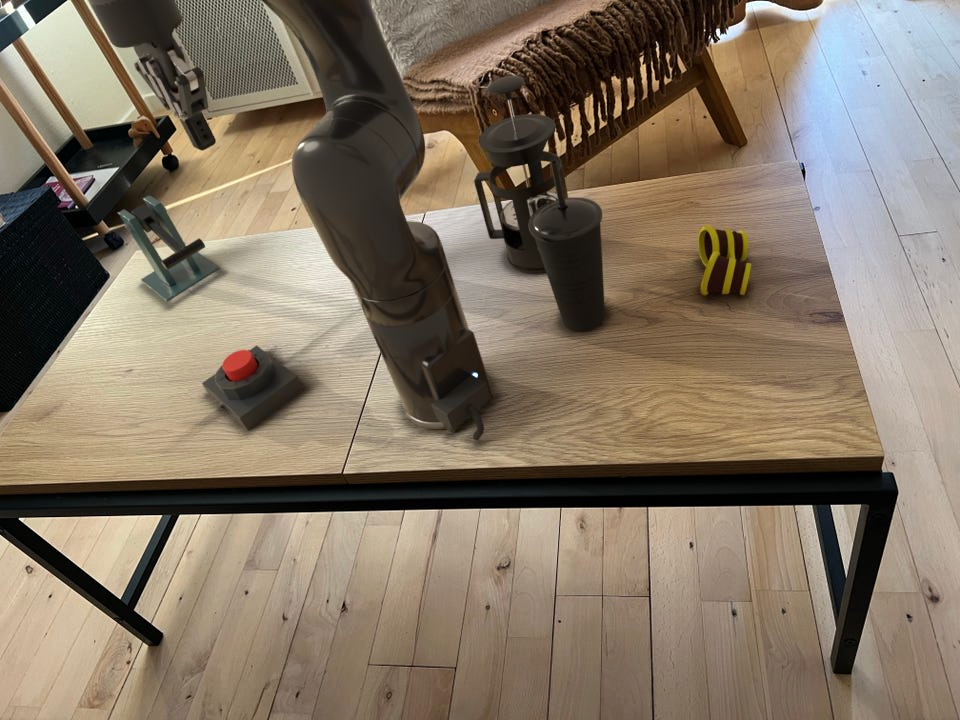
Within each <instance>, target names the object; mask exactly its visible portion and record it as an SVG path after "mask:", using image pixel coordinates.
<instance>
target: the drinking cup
mask: <svg viewBox="0 0 960 720" xmlns="http://www.w3.org/2000/svg"><path fill="white" fill-rule="evenodd" d="M550 167H551V172H552V176H553V177H554V182H555V187H554V189H555V193H557V198H558V200H555V201H552V202H550V203H548V204H545V205H544V206H542V207H540V208H539V209H538V210H536V211H535V212H534V213H533V214H532V216H531V217H530V220H529V224H528V226H529V230H530V233H531V234H532V235H533V236H534V238H535V240H536V243H537V246H538V250H539V252H540V255H541V258H542V261H543V264H544V267H545V270H546V272H545V273H546V276H547V279H548V281H549V285H550V288H551V291H552V294H553V297H554V299H555V303H556V305H557V306H556V307H557V308H558V311H559V314H560V317H561V320H562V323H563V325H564V326H565V328H566V329H568V330H570V331H572V332H578V333H583V332H589V331H592V330H594V329H597V328H598V327H599V326H601V324H602V323H603V322H604V321H605V318H606V307H605V288H604V268H603V265H604V264H603V250H602V249H603V248H602V247H603V246H602V229H601V228H602V227H601V223H602V220H603V210H602V208H601V206H600V204H598V203H597V202H596V201H594V200H592V199H589V198H586V197H579V196H578V197H575V196H574V197H573V196H572V197H568V198H564V193H563V188H562V183H561V177H560V172H559V166H558V162H557V161H552V162H550Z"/></svg>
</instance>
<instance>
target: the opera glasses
mask: <svg viewBox="0 0 960 720" xmlns="http://www.w3.org/2000/svg"><path fill="white" fill-rule="evenodd" d="M697 237H698V238H697V246H698V247H697V248H698V254H699V258H700V261H701V262H702V264H703V265H704V267H705V270H704V272H703V275H702V279H701V282H700V294H701V295H702V296H708V295H709V293H721V295H729V294H730V293H732V294H736V293H739V294H740V296H745V294H746V291H747V287H748V283H749V279H750V273H751V269H752V263H750V262H746V264H745V263H743V262H745V261H746V260H747V258H748V254H749V236H748V233H747V231H745V230H739V231H736V230H733V231H732V230H731V229H728V228H722V229H718V228H715V227H714V226H712V225H710V224H706V225H704V226H702V228H701V229H700V230H699V232H698V236H697Z"/></svg>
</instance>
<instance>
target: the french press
mask: <svg viewBox="0 0 960 720" xmlns="http://www.w3.org/2000/svg"><path fill="white" fill-rule="evenodd" d="M524 84H525V79H524V77H522V76H519V75H507V76H502V77H500V78H498V79H494V81H492V82H490V83H489V84H488V86H487V89H486V91H487V92H488V93H489V94H492V95H503V98H504V100H505V101H507V103H508V108H509V113H510V117H507V118H504V119H501V120H499V121H497V122H494V123H492V124H491V125H490V126H488V127H487V128H486V129H484V131H482V133H481V134H480V136H479V138H478V144H479V147H480V149H481V150H483V152H485V157H486V160H487V161H488V162H489V163H490V164H491V165H493V166H492V168H491V169H490V171H480V172H477V173H476V176H475V178H474V180H473V181H474V187H475V190H476V194H477V199H478V201H479V205H480V210H481V212H482V216H483V219H484V224H485V226H486V227H485V228H486V230H487V235H488V237H489V239H490V240H502V239H503V241H504V246H505V250H506V259H507V262H508V265H509V266H510V267H511V268H512V269H514V270H516V271H518V272H520V273H524V274H531V275H532V274H534V275H535V274H544V273H546V270H545V267H544V264H543V261H542V258H541V255H540V252H539V249H538V246H537V243H536V240H535V238H534V236H533V235H532V234H531V233H530V230H529V226H528V224H529V220H530V217H531V216H532V214H533V213H534V212H535V211H536V210H538V209H539V208H540V207H542V206H544V205H545V204H548V203H550V202H552V201H555V200H558V198H557V193H556V191H551V190H553V189H555V182H554V177H553V175H552V176H551V177H549V178H548V179H545V175H544V169H543V164H542V162H547V163H551V162H552V161H557V162H558V167H559V172H560V177H561V183H562V188H563V193H564V198H569V193H568V187H567V182H566V178H565V173H564V167H563V162H562V159H561V158H560V155H557V154H556V153H554V152H551V151H547V150H545V148H546V145H547V143H548V140H549V139H550V138H551V137H552V136H553V134H554V133H555V131H556V124H555V121H554V120H553V119H552V118H551V117H549V116H547V115H545V114H539V113H525V114H517V115H515V113H514V109H513V103H512V99H513V98H514V97H513V92H514V91H516V90H518V89H520V88H521V87H522V86H523V85H524ZM526 165H527V167H526ZM520 166H522V171H523V175H524V180H525V185H526V187H524V188H523V187H522V188H513V189H512V188H511V189H510V188H503V187H499V186H498V184H497V178H498V177H499V175H501V174H502V173H503V172H505V171H507V170H509V169H510V168H514V167H520ZM527 168H528V172H529V177H530V179H529V177H528V172H527ZM483 182H488V183H489V187H490V191H491V193H492V196H493V200H494V204H495V209H496V212H497V217H498V220H499V224H500V227H501V228H500V229H495V226H494V224H493V220H492V216H491V212H490V208H489V205H488V200H487V197H486V193H485V188H484V186H483ZM530 182H531V186H530ZM501 199H504V200H510V201H509V202H508V203H507V204H506V205H505V206H504V207H503V203H502V200H501ZM521 246H523V249H519V248H520V247H521Z"/></svg>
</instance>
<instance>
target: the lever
mask: <svg viewBox="0 0 960 720" xmlns="http://www.w3.org/2000/svg"><path fill="white" fill-rule="evenodd" d="M130 213H131V214H132V215H133V216H135V217H136V218H137V220H138V222H139V223H140V225H141V227H142V228H143V230H144V231H145V233H146V234H148V233H149V232H153V233H154V234H155V235H156V236H157V237H158V238H159V239H160V240H161V241H162V242H163V243H164V244H165V245H166V246H167V247H168V248H169V249H170V250H172V251H173V252H174V253H172V254H171V255H169V256H167V257H165V258H164V259H162V261H161V263H162V265H163V266H164V267H165V269H166V270H169V269H170V268H172V267H174V266H175V265H177V264H179V263H180V262H182V261H184V260H185V259H187V258H189V257H190V256H192V255H193V254H195V253H199V252H200V251H202V250H203V249H205V248H206V245H205V242H204V241H203V239H201V238H199V237H198V238H197V239H195V240H194V241H192V242H190V243H188V244H187V245H186V246H185V247H184V248H183V247H182V246H181V245H180V244H179V243H178V242H177V241H176V240H175V239H174V238H173V237H172V236H171V235H170V234H169V233H167V232H166V231H165V230H164V229H163V228H162V227H161V226H160V223H159V221H158V219H157V217H156V215H155V213H154V212H153V211H152V210H151V209H150V208H149V207H148V206H147V204H146V203H143V204H141V205H139V206H138V207H136V208H135V209H132V210H131V212H130Z"/></svg>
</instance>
